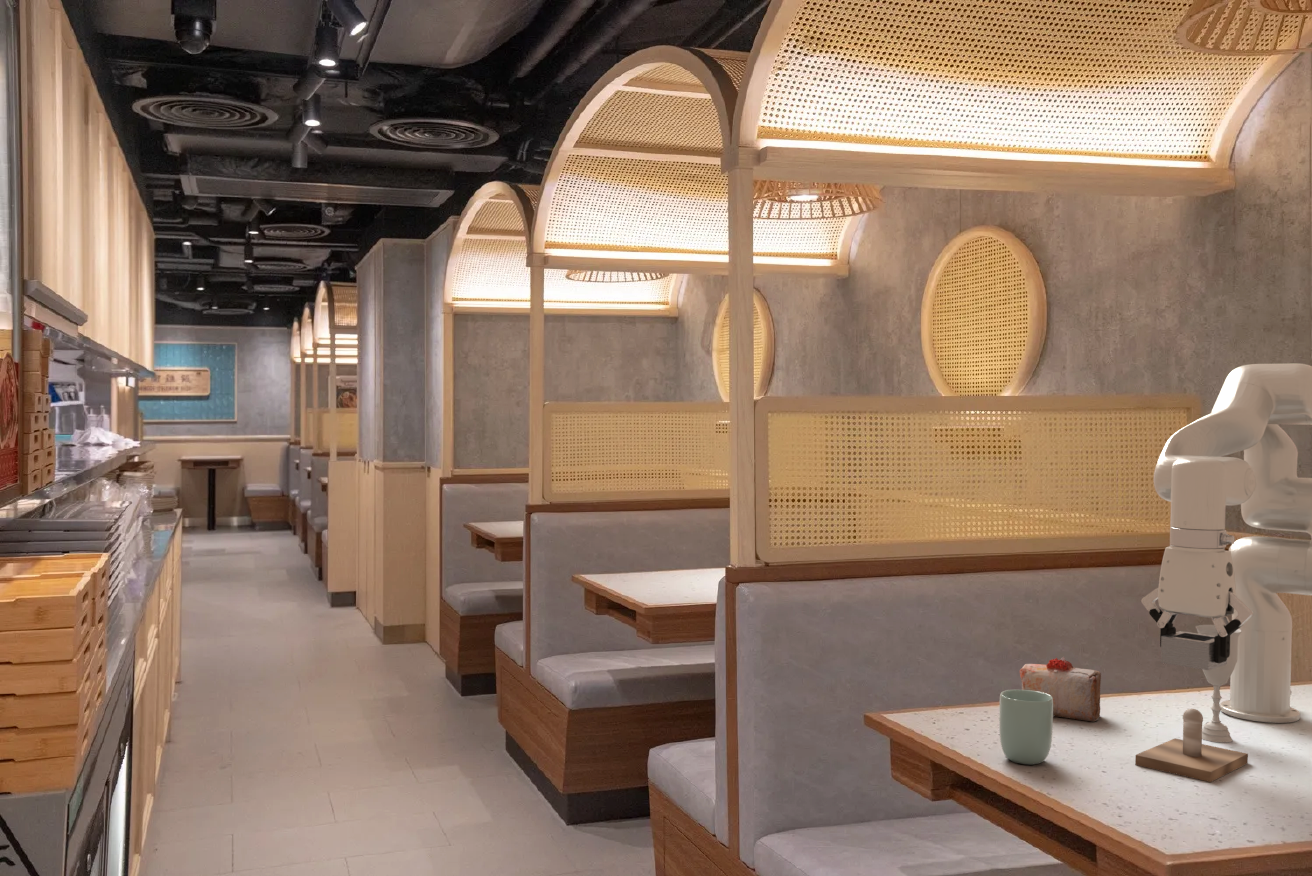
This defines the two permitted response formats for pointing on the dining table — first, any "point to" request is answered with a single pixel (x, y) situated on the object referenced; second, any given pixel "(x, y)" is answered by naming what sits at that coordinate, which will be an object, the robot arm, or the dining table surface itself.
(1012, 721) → the cup
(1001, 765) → the dining table surface
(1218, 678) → the chalice
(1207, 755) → the brown flat pegged piece
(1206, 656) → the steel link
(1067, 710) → the food item
